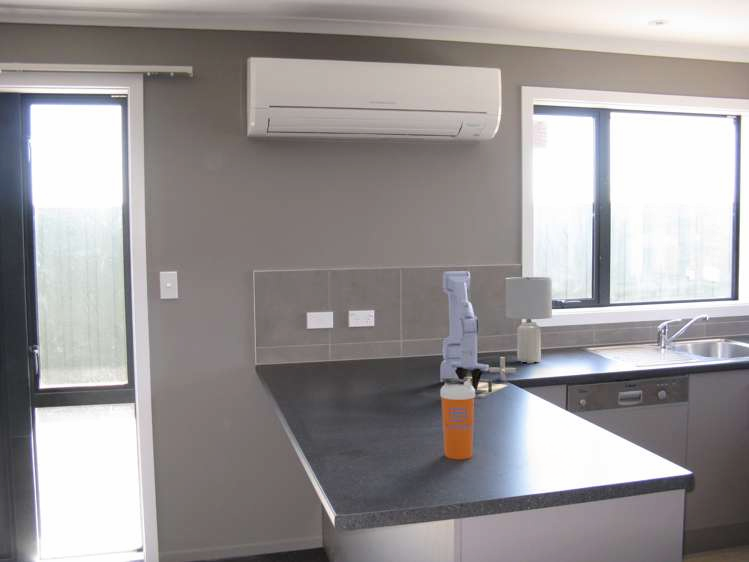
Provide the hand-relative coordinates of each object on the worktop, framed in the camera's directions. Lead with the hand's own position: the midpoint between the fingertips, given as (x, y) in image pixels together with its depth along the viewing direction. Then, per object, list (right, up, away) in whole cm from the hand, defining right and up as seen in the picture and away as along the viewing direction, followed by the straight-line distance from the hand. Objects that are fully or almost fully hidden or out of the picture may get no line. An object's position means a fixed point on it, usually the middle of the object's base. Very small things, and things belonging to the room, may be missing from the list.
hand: (469, 389), depth 252 cm
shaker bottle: (-12, -7, -70) cm, 71 cm away
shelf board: (+5, -2, +8) cm, 9 cm away
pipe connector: (+16, -1, +22) cm, 27 cm away
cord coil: (0, -1, 0) cm, 1 cm away
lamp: (+36, +2, +68) cm, 77 cm away
